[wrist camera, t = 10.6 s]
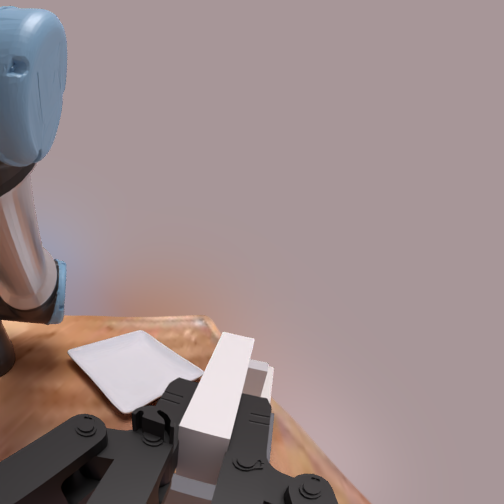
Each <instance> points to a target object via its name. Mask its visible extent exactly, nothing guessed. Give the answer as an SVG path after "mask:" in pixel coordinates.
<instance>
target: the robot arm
mask: <svg viewBox="0 0 504 504" xmlns="http://www.w3.org/2000/svg"><path fill="white" fill-rule="evenodd" d="M66 72H67V41H66V35H65V31H64V28H63V25H62V24H61V23H60V20H59V19H58V18H57V16H56V15H55V14H54V13H52V12H50V11H48V10H44V9H22V8H21V9H20V8H17V7H14V6H7V7H6V6H2V7H0V376H2V375H3V374H5V373H6V372H8V371H9V370H10V369H11V367H12V366H13V364H14V362H15V353H14V348H13V345H12V342H11V341H10V339H9V337H8V335H7V333H6V330H5V328H4V326H3V324H2V321H1V320H8V321H18V322H29V323H41V324H46V325H49V324H59V323H61V322H62V320H63V318H64V301H65V286H66V263H65V262H64V261H59V260H58V259H55V260H54V259H53V258H52V256H51V255H50V253H49V252H48V251H47V250H46V249H45V248H44V247H42V242H41V238H40V233H39V228H38V223H37V217H36V212H35V207H34V199H33V193H32V185H31V178H30V174H31V173H32V171H33V170H34V168H35V166H36V164H37V162H38V161H40V160H42V159H43V158H44V157H45V156H46V154H47V153H48V152H49V150H50V148H51V146H52V144H53V141H54V138H55V135H56V132H57V128H58V125H59V120H60V116H61V111H62V94H63V92H64V90H65V84H66ZM254 340H255V339H253V338H248V337H244V336H239V335H235V334H231V333H227V332H223V333H222V335H221V337H220V340H219V342H218V344H217V346H216V348H215V350H214V352H213V355H212V357H211V359H210V361H209V363H208V365H207V367H206V369H205V372H204V374H203V376H202V378H201V380H200V382H199V383H197V382H193V381H190V380H186V379H183V378H180V377H179V378H177V379H175V380H174V381H172V382H170V383H169V385H168V386H167V388H166V389H165V392H164V393H163V394H162V396H161V398H160V399H159V401H158V402H157V404H156V406H152V405H151V406H142V407H139V408H136V409H135V410H134V411H133V412H132V427H133V430H128V431H125V430H115V429H109V428H106V427H105V424H104V423H103V422H102V421H101V420H100V419H99V418H97V417H95V416H93V415H89V414H79V415H76V416H74V417H71V418H70V419H68V420H67V421H65V422H64V423H62V424H61V425H59V426H57V427H56V428H54V429H53V430H51V431H50V432H48V433H46V434H45V435H43V436H42V437H40V438H39V439H37V440H35V441H34V442H32V443H31V444H29V445H27V446H26V447H24V448H22V449H21V450H19V451H18V452H16V453H14V454H13V455H11V456H9V457H8V458H6V459H4V460H3V461H1V462H0V504H164V502H165V500H166V498H167V495H168V493H169V490H170V488H171V484H172V477H173V474H174V472H175V470H176V475H180V476H183V477H186V478H190V479H193V480H197V481H201V482H204V483H208V484H212V485H216V487H215V491H214V494H213V498H212V501H211V504H338V502H337V499H336V497H335V494H334V492H333V489H332V487H331V485H330V484H329V483H328V481H326V480H325V479H324V478H322V477H320V476H317V475H315V474H302V475H298V476H296V477H295V478H293V477H290V476H288V475H285V474H283V473H281V472H279V471H277V470H276V469H274V468H273V467H272V466H271V465H270V463H269V462H268V459H267V444H268V436H269V425H270V417H271V405H270V403H269V401H268V399H267V398H263V397H258V396H253V395H249V394H244V393H242V391H243V387H244V383H245V379H246V374H247V370H248V366H249V362H250V357H251V353H252V349H253V344H254Z"/></svg>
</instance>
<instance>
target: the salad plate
mask: <svg viewBox="0 0 504 504" xmlns="http://www.w3.org/2000/svg"><path fill="white" fill-rule="evenodd" d="M68 354H69V356H70V357H71V358H72V359H73V361H74V362H75V363H76V364H77V365H78V366H79V367H80V368H81V369H82V370H83V371H84V372H85V373H86V374H87V375H88V376H89V377H90V378H91V380H92V381H93V382H94V383H95V384H96V385H97V386H98V387H99V389H100V390H101V391H102V392H103V393H104V395H105V396H106V397H107V398H108V399H109V400H110V402H111V403H112V404H113V405H114V406H115V407H116V408H117V409H118V410H119V411H120V412H122V413H124V414H130V413H132V412H133V411H134V410H135V409H136V408H139V407H142V406H145V405H147V404H148V403H150V402H152V401H154V400H156V399H158V398H160V397H161V396H162V394H163V393H164V392H165V389H166V388H167V386H168V385H169V383H170V382H172V381H174V380H175V379H177V378H179V377H180V378H183V379H186V380H190V381H195V380H197V379H198V378H200V377H201V376H203V374H204V371H203V370H201V369H200V368H199V367H197V366H195V365H194V364H192V363H191V362H189V361H188V360H186V359H184V358H183V357H181V356H180V355H178V354H177V353H175V352H174V351H172V350H171V349H169V348H168V347H166V346H165V345H163V344H162V343H161V342H159V341H158V340H156V339H155V338H153V337H152V336H151V335H149V334H148V333H146V332H145V331H142V330H138V331H134V332H131V333H127V334H124V335H120V336H117V337H113V338H110V339H106V340H102V341H99V342H95V343H92V344H88V345H84V346H81V347H77V348H73V349H70V350H68Z"/></svg>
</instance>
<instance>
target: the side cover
mask: <svg viewBox="0 0 504 504" xmlns="http://www.w3.org/2000/svg"><path fill="white" fill-rule="evenodd" d="M268 365H269V363H266V362H261V361H256V360H252V359H250V362H249V366H248V370H247V374H246V379H245V383H244V387H243V391H242V393H244V394H249V395H253V396H258V397H263V398H267V399H268V401H269V403H270V399H271V390H272V380H273V370H274V368H273V367H269V366H268Z"/></svg>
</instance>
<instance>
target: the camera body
mask: <svg viewBox="0 0 504 504" xmlns="http://www.w3.org/2000/svg"><path fill="white" fill-rule="evenodd" d="M273 421H274V413H271V417H270V425H269V436H268V444H267V459H268V462H269V461H270V451H271V441H272V431H273ZM215 487H216V485H212V484H208V483H204V482H201V481H197V480H193V479H190V478H186V477H183V476H180V475H176V470H175V472H174V474H173V477H172V484H171V488H170V490H169V493H168V495H167V498H166V500H165V502H164V504H211V501H212V498H213V494H214V491H215Z"/></svg>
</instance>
